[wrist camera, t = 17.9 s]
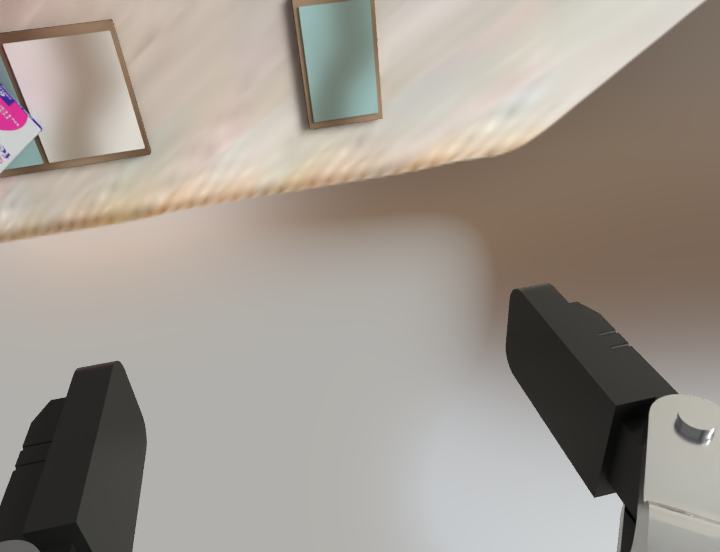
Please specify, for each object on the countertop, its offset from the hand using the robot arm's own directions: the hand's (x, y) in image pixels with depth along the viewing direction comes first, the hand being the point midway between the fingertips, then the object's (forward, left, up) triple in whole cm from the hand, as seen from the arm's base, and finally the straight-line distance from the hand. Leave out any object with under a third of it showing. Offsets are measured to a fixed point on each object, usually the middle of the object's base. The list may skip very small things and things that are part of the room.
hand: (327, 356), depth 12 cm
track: (+3, -5, -29) cm, 30 cm away
